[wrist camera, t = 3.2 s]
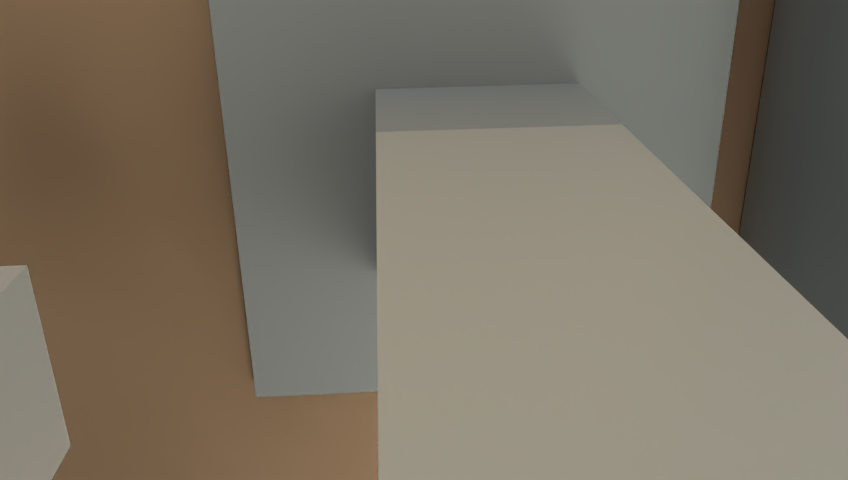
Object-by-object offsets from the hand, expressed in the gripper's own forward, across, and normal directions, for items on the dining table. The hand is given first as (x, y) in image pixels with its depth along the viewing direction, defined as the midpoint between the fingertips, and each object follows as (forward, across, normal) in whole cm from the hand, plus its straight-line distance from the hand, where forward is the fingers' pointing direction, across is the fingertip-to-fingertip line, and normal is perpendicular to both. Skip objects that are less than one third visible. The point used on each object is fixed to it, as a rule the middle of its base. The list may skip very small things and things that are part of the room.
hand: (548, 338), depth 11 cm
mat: (+7, 0, 0) cm, 7 cm away
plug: (+7, 0, 0) cm, 7 cm away
